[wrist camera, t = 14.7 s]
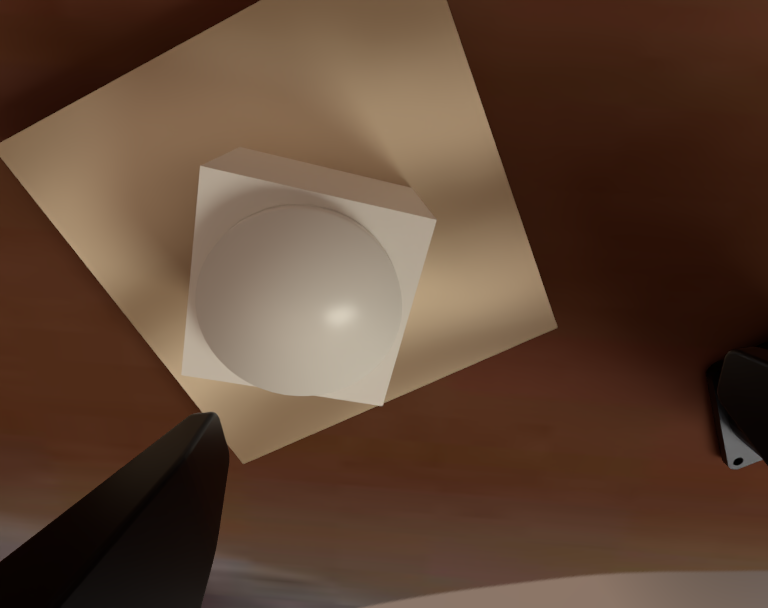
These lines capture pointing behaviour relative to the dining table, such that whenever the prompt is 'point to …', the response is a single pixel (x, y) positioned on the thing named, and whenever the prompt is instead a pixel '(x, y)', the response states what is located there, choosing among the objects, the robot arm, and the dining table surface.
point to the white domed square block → (301, 277)
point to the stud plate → (302, 143)
